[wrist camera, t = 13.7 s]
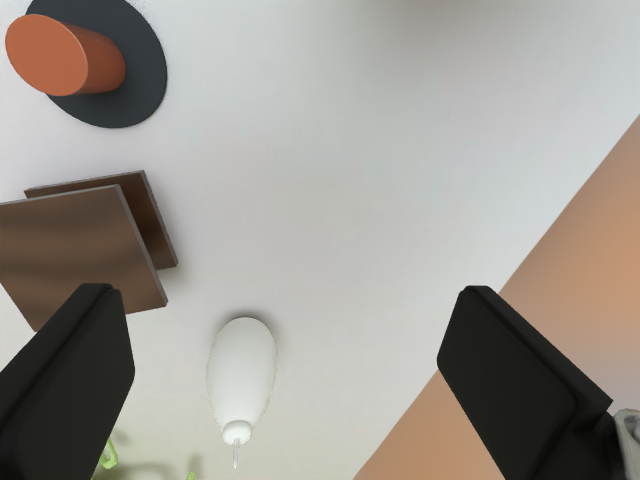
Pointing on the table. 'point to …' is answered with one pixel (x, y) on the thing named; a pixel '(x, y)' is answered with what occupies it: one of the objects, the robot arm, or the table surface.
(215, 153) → the table surface
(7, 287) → the stand
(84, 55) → the canister
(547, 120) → the table surface
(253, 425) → the sauce bottle
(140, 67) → the coaster
